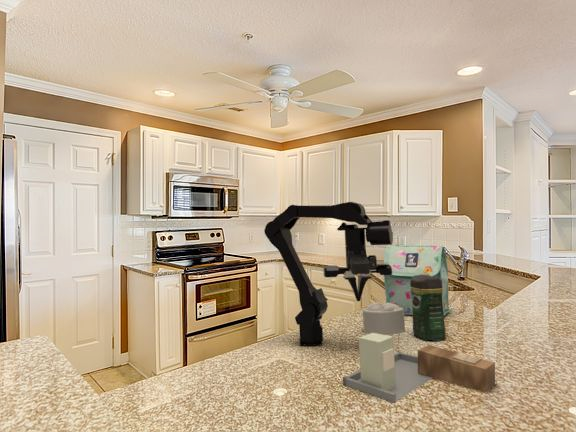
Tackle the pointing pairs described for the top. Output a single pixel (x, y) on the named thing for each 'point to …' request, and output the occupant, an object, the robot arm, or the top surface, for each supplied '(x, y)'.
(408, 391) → the parts tray
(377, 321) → the lumpy-topped squat cylinder
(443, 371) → the walnut box
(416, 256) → the lunch bag
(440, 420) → the top surface
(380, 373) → the sage box
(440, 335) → the coffee jar
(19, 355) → the top surface
